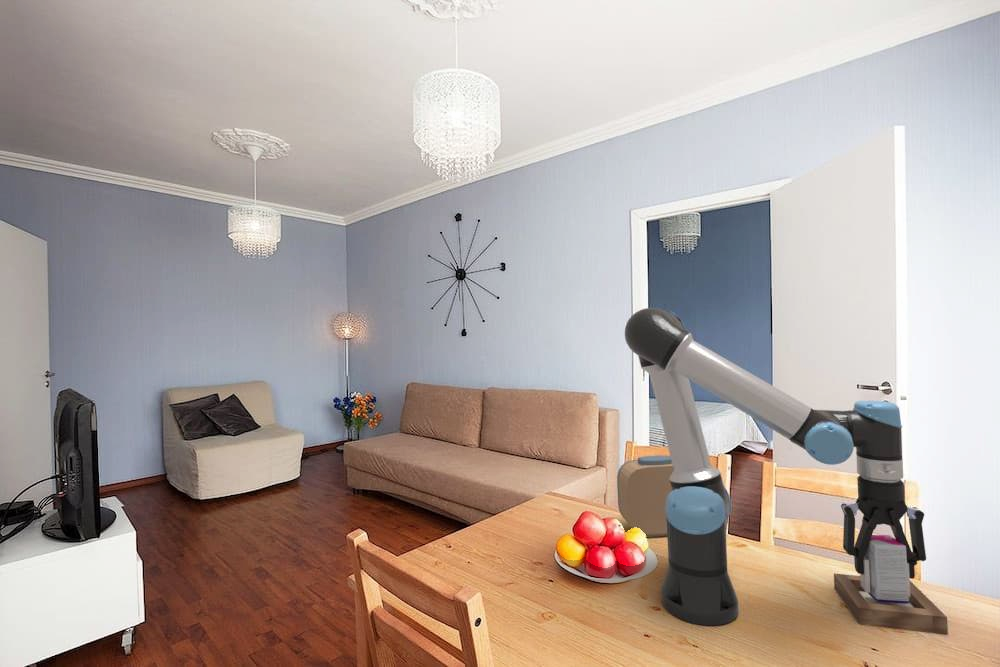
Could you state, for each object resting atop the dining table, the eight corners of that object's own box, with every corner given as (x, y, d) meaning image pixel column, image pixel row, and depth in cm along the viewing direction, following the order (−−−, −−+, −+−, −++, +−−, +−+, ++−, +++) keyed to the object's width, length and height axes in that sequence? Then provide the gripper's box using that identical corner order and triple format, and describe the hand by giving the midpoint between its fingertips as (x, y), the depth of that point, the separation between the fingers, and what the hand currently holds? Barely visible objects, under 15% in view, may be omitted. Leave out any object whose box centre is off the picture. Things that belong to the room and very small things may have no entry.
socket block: (859, 624, 95) (858, 607, 95) (834, 587, 109) (833, 573, 109) (947, 634, 91) (947, 617, 91) (910, 595, 104) (909, 580, 105)
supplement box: (911, 604, 97) (907, 546, 97) (876, 602, 98) (872, 545, 98) (894, 589, 102) (890, 534, 102) (861, 587, 103) (858, 533, 104)
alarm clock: (685, 522, 149) (682, 451, 149) (699, 535, 139) (696, 459, 140) (618, 527, 148) (615, 455, 148) (628, 540, 138) (625, 463, 138)
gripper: (832, 480, 99) (837, 595, 99) (947, 485, 94) (953, 607, 94) (820, 470, 107) (825, 577, 106) (926, 474, 101) (932, 587, 101)
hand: (885, 590), depth 100 cm, fingers closed on supplement box, 6 cm apart
